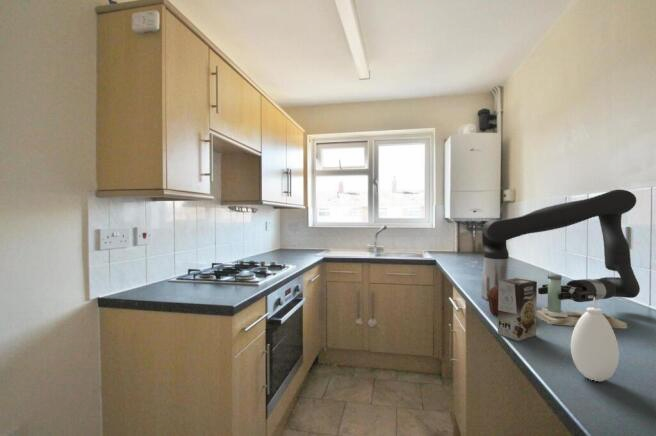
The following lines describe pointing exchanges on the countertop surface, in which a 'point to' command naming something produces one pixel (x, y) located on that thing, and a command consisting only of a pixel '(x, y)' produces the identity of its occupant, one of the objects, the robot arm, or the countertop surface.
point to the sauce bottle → (594, 345)
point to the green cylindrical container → (554, 297)
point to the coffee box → (517, 308)
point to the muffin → (493, 299)
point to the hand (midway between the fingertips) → (549, 293)
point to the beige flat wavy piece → (576, 319)
